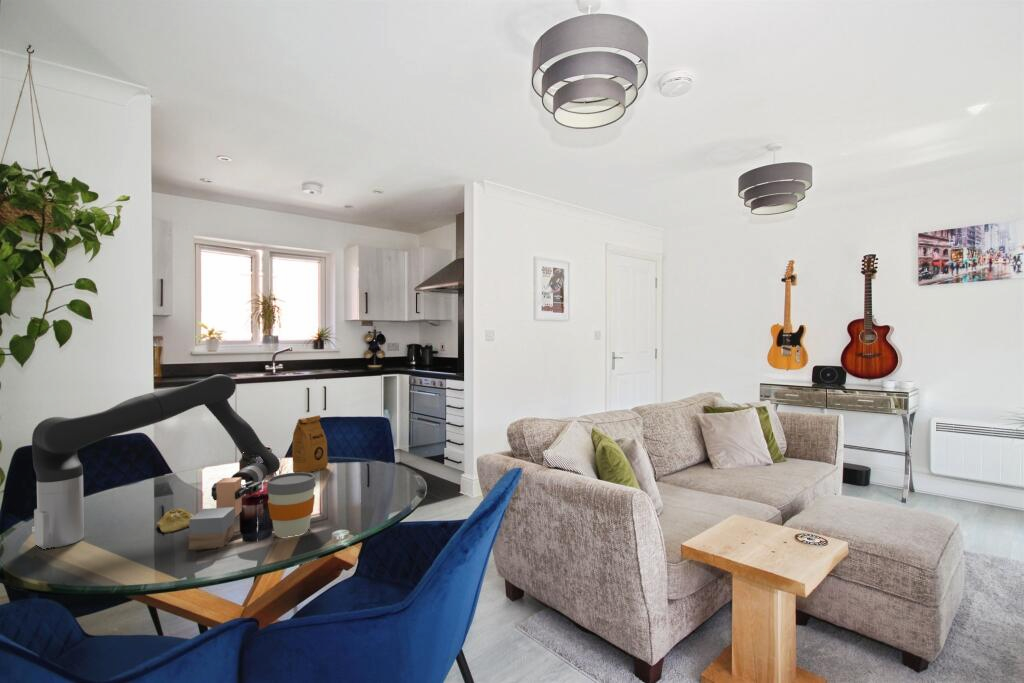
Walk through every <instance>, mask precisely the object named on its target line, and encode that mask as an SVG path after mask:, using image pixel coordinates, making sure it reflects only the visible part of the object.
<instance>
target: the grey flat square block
mask: <svg viewBox="0 0 1024 683" xmlns="http://www.w3.org/2000/svg"><path fill="white" fill-rule="evenodd" d="M193 515H194V514H193ZM235 522H236V517H235V507H228V508H216V507H213V508H202V509H201V510H200V511H199V512H197V513H196V514H195V515H194V516H193V517H192V518H190V519H189V527H188V529H189V530H188V531H189V535H196V534H212V533H223V532H224V531H225V530H227V529H228V528H229V527H230V526H231V525H232V524H233V523H234V524H235ZM189 535H188V536H189Z"/></svg>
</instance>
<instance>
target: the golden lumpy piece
mask: <svg viewBox="0 0 1024 683" xmlns="http://www.w3.org/2000/svg"><path fill="white" fill-rule="evenodd" d="M193 516H194V514H192V513H190V512H188V511H187V510H185V509H183V508H176V509H175V508H174V509H173V508H172V509H170V510H168V511H166V513H165V514H164V515H163V516H162V517H161V518H160V519H159V521H157V523H156V526H158V528H159V529H160V531H161V533H165V534H166V533H168V534H169V533H174V532H177V531H182V530H184V529H187V528H189V519H190V518H192V517H193Z"/></svg>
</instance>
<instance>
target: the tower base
mask: <svg viewBox="0 0 1024 683" xmlns="http://www.w3.org/2000/svg"><path fill="white" fill-rule="evenodd" d="M233 535H234V536H235V522H234V523H233V524H232V525H231V526H230V527H229V528H228V529H227V530H225V531H224V532H223V533H212V534H196V535H188V551H191V550H204V549H205V550H206V549H207V550H208V549H217V548H216V547H222V548H224V547H225V546H226V545H227V544H226V542H227V541H228V540H229V539H230V538H231V537H232V536H233ZM234 536H233V537H234ZM233 537H232V538H233ZM232 538H231V539H232ZM231 539H230V540H231ZM230 540H229V541H230ZM229 541H228V542H229ZM225 544H226V545H225ZM224 545H225V546H224ZM223 546H224V547H223Z"/></svg>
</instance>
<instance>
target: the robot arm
mask: <svg viewBox="0 0 1024 683" xmlns="http://www.w3.org/2000/svg"><path fill="white" fill-rule="evenodd" d="M236 386H237V385H236V381H235V380H234V379H233V378H232V377H231V376H229V375H226V374H223V373H222V374H218V373H217V374H214V375H211V376H209V377H206V378H204V379H203V380H200V381H197V382H194V383H191V384H186V385H183V386H176V387H172V388H167V389H163V390H157V391H154V392H153V391H152V392H149V393H145V394H141V395H138V396H135V397H131V398H129V399H126V400H123V401H121V402H120V403H118V404H116V405H115V406H112V407H110V408H109V409H106V410H103V411H101V412H97V413H92V414H87V415H83V416H78V417H71V418H69V417H63V416H53V417H48V418H45V419H43V420H42V421H40V422H39V423H38V424H37V425H36V426H35V428H34V429H33V433H32V436H31V451H32V452H31V453H32V464H33V469H34V471H35V475H36V505H37V506H36V508H35V509H33V510H34V511H33V521H34V522H33V523H34V525H33V526H34V528H33V529H34V530H33V531H34V533H33V534H34V545H35V544H36V545H37V546H39V547H41V548H42V549H41V548H40V549H41V550H43V549H45V550H47V549H46V548H49V549H53V547H55V548H60V547H65V546H69V545H72V544H75V543H77V542H80V541H81V540H83V539H84V538H85V524H84V522H85V521H84V520H85V519H84V517H85V516H84V468H83V467H84V466H83V464H82V463H81V461H80V459H79V457H78V456H79V455H78V450H80V449H82V448H84V447H87V446H89V445H92V444H94V443H96V442H99V441H102V440H103V439H106V438H108V437H109V438H110V437H112V436H116V435H120V434H123V433H126V432H130V431H134V430H137V429H141V428H144V427H149V426H151V425H154V424H157V423H160V422H163V421H166V420H169V419H170V418H174V417H175V416H178V415H180V414H183V413H184V412H187V411H189V410H191V409H194V408H197V407H199V406H205V408H207V410H208V411H209V412H210V413H211V414H212V415H213V417H215V419H216V420H217V421H218V422H219V424H221V426H222V427H223V428H224V430H225V432H227V434H228V435H229V437H230V438H231V440H232V441H233V443H234V445H235V447H236V448H237V449H238V451H239V452H240V454H241V455H242V453H243V452H244V453H243V455H242V456H243V457H244V458H247V457H251V456H258V457H259V458H260V457H261V458H262V459H263V461H264V462H263V464H262V463H252V464H250V465H247V464H246V465H247V466H245V467H242V469H241V468H240V470H239V471H238V470H237V472H235V473H234V474H232V476H231V477H230V478H238V477H242V487H241V488H240V489H238V490H237V491H236V492H235V499H239V498H240V497H242V498H243V497H245V496H246V495H248V496H252V495H254V494H256V493H258V492H260V491H261V490H263V481H264V480H265V478H266V475H269V476H271V475H273V474H275V473H277V472H278V471H279V470H280V467H281V463H280V462H281V461H280V460H279V458H278V456H276V454H274V453H273V452H272V451H271V450H269V448H267V447H266V446H265V444H264V443H262V440H260V438H259V437H258V435H257V433H256V432H255V429H253V427H252V426H251V424H249V423H248V422H247V420H245V419H244V418H243V417H241V416H240V415H239V414H238V413H237V412H236V411H235V410H234V408H233V407H232V406H231V404H230V403H229V399H230V398H231V397H232V396H233V395H234V393H235V392H236V389H237V388H236ZM268 450H269V451H270V453H269V451H268ZM245 451H246V452H245ZM271 452H272V453H271ZM216 483H217V482H215V483H213V485H212V487H211V497H212V499H213V500H214V501H216V500H217V493H216ZM37 546H36V547H37ZM39 547H38V548H39ZM51 547H52V548H51Z"/></svg>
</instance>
